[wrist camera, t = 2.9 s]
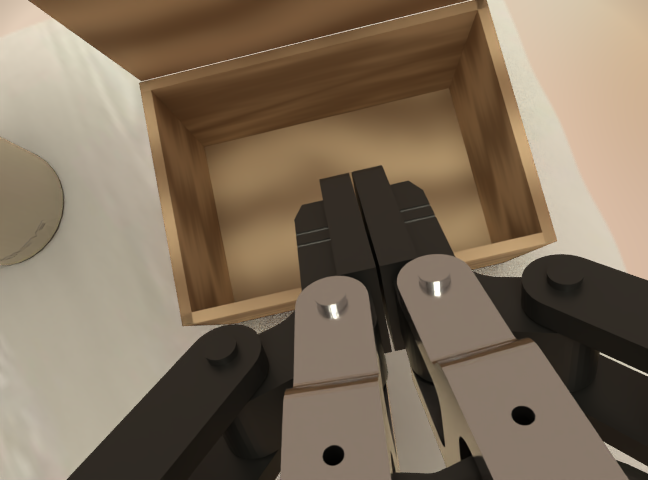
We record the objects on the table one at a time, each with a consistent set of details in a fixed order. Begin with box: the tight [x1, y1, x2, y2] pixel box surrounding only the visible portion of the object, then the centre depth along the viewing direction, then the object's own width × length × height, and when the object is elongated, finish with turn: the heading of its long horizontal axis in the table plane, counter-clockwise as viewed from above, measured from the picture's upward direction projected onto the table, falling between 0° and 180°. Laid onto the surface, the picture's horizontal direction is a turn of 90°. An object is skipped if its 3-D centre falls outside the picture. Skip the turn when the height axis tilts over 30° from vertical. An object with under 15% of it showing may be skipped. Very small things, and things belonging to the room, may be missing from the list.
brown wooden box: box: [139, 0, 557, 326], centre depth 35 cm, size 14×20×11 cm
